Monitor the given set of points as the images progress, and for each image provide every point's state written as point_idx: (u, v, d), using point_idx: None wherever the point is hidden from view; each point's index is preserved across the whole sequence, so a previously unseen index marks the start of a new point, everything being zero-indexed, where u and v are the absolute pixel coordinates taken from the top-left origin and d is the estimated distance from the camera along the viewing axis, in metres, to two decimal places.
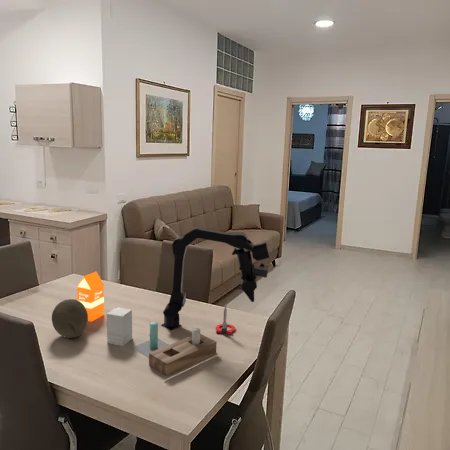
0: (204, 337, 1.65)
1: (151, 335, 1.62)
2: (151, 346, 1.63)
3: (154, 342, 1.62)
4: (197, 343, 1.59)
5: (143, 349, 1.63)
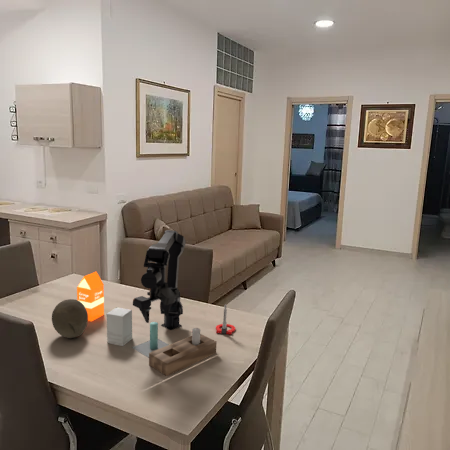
0: (204, 337, 1.65)
1: (151, 335, 1.62)
2: (151, 346, 1.63)
3: (154, 342, 1.62)
4: (197, 343, 1.59)
5: (143, 349, 1.63)
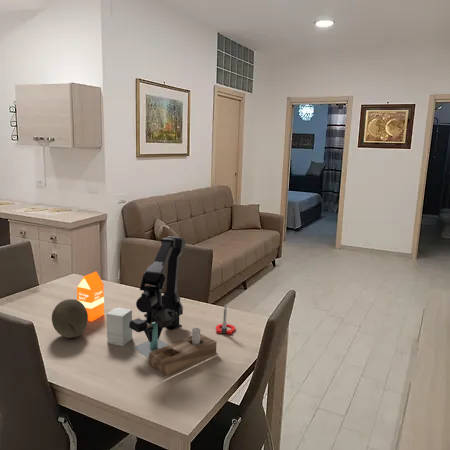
0: (204, 337, 1.65)
1: None
2: (151, 346, 1.63)
3: (154, 342, 1.62)
4: (197, 343, 1.59)
5: (143, 349, 1.63)
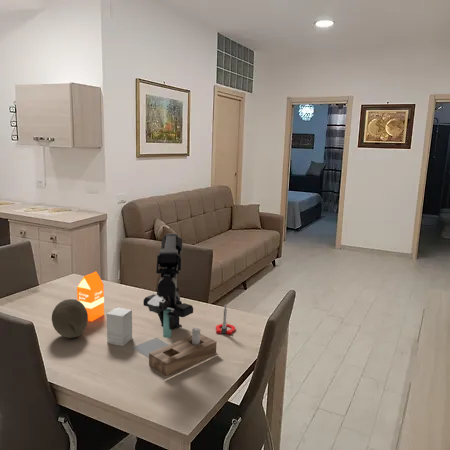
0: (204, 337, 1.65)
1: None
2: None
3: (163, 329, 1.51)
4: (197, 343, 1.59)
5: (143, 349, 1.63)
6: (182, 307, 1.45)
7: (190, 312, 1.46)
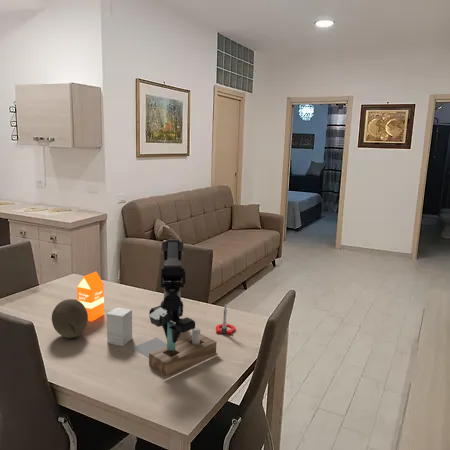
0: (204, 337, 1.65)
1: None
2: None
3: (167, 341, 1.50)
4: (197, 343, 1.59)
5: (143, 349, 1.63)
6: (183, 322, 1.43)
7: (191, 327, 1.44)
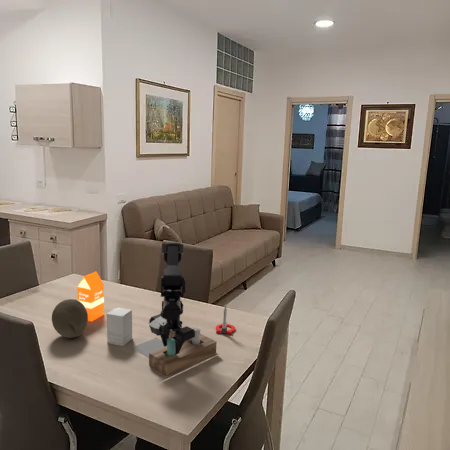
0: (204, 337, 1.65)
1: None
2: None
3: None
4: (197, 343, 1.59)
5: (143, 349, 1.63)
6: (183, 331, 1.43)
7: (191, 336, 1.44)
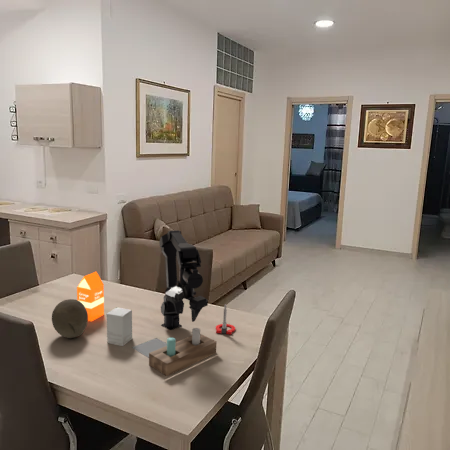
0: (204, 337, 1.65)
1: None
2: None
3: None
4: (197, 343, 1.59)
5: (143, 349, 1.63)
6: (196, 300, 1.56)
7: (204, 305, 1.57)
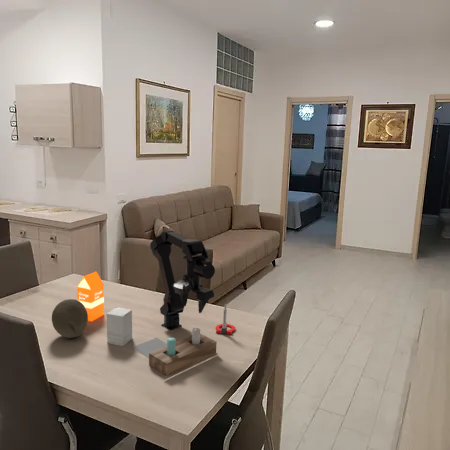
0: (204, 337, 1.65)
1: None
2: None
3: None
4: (197, 343, 1.59)
5: (143, 349, 1.63)
6: (203, 291, 1.62)
7: (211, 296, 1.63)
